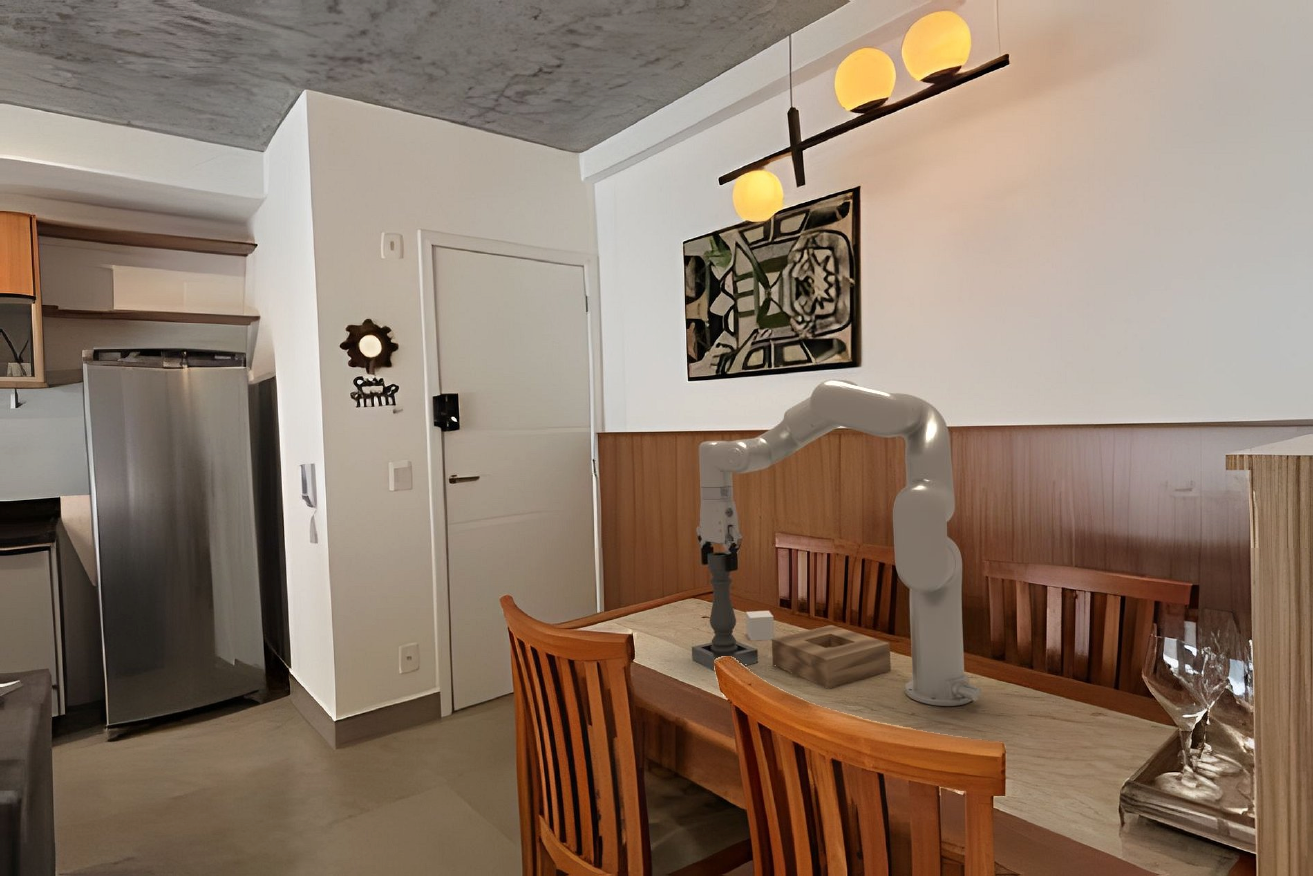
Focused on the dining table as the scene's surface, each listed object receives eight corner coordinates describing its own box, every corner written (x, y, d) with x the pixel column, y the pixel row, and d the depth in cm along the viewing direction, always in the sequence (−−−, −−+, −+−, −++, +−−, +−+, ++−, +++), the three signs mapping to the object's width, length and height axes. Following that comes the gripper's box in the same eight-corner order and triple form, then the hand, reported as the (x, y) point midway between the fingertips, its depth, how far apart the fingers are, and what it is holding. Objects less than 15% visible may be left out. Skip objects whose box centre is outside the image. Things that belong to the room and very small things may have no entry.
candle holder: (737, 656, 169) (733, 551, 169) (738, 665, 163) (733, 556, 163) (711, 657, 170) (706, 552, 169) (711, 665, 164) (706, 557, 163)
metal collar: (758, 662, 164) (757, 649, 164) (718, 672, 159) (717, 659, 159) (730, 650, 174) (730, 638, 174) (692, 659, 168) (691, 647, 168)
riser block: (890, 670, 155) (889, 643, 155) (828, 688, 146) (826, 659, 146) (832, 650, 171) (831, 625, 171) (772, 665, 162) (771, 639, 162)
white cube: (746, 634, 187) (745, 611, 187) (769, 633, 187) (768, 610, 187) (751, 641, 181) (749, 617, 181) (774, 640, 181) (773, 616, 181)
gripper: (752, 495, 160) (754, 571, 160) (709, 490, 175) (712, 559, 176) (724, 498, 156) (727, 575, 157) (683, 492, 172) (686, 563, 172)
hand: (719, 567), depth 166 cm, fingers open, 9 cm apart
